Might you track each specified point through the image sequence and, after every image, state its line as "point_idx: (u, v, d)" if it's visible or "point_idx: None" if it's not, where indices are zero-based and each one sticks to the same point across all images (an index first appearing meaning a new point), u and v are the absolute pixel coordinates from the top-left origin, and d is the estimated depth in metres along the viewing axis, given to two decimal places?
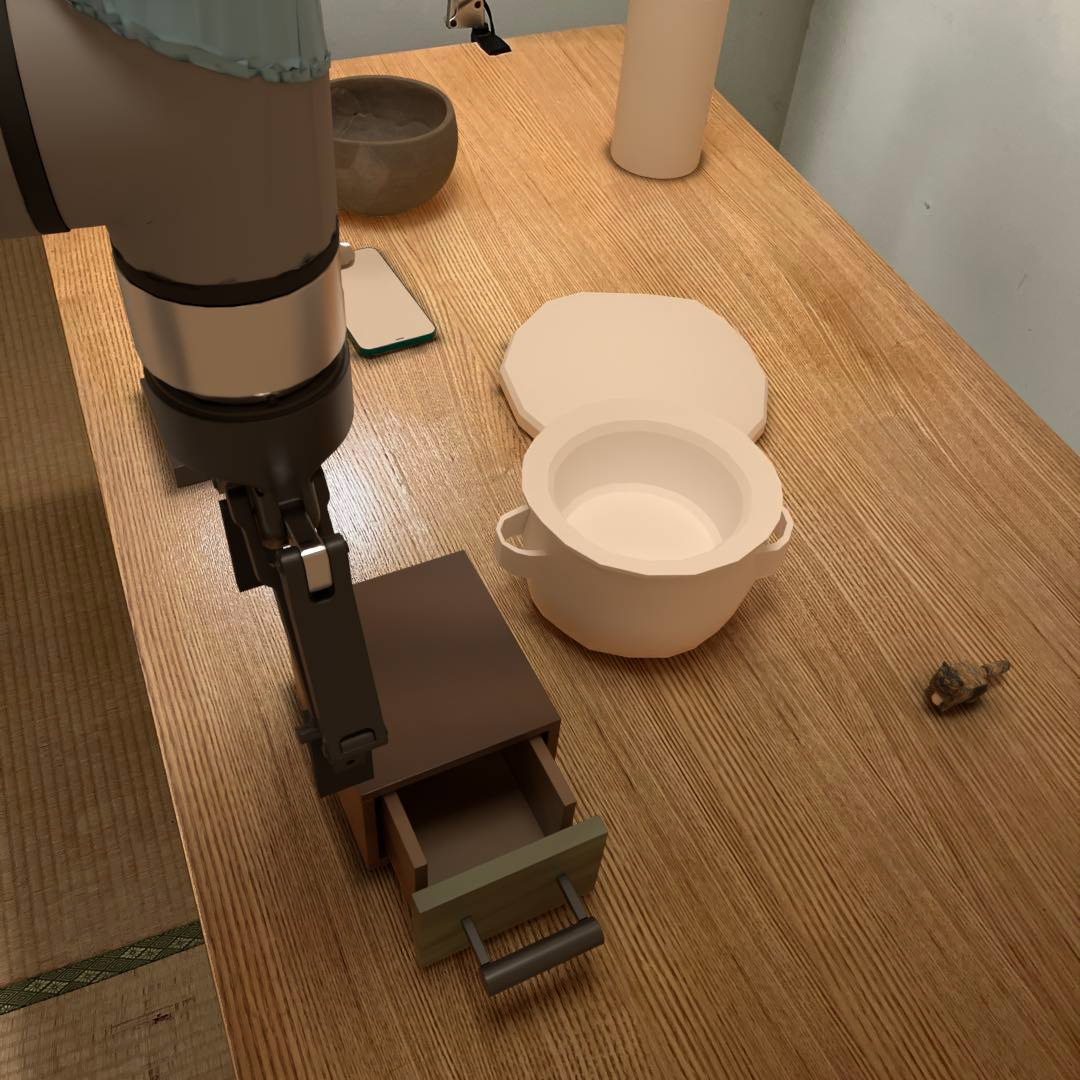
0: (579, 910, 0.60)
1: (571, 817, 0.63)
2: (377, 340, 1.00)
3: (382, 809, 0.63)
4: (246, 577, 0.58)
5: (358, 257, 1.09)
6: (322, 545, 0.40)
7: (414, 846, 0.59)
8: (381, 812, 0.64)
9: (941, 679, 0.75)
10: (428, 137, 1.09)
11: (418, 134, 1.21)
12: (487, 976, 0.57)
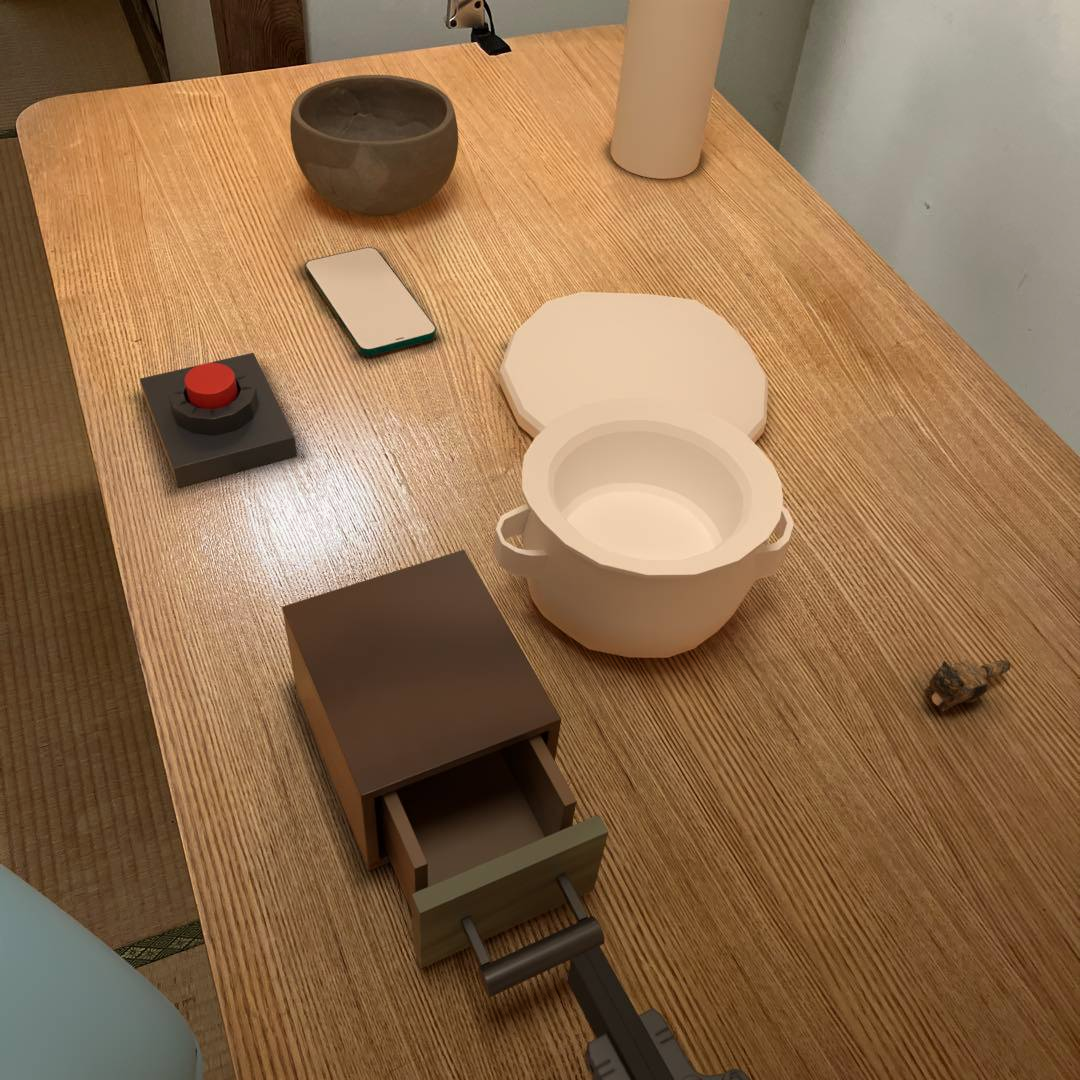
0: (579, 910, 0.60)
1: (571, 817, 0.63)
2: (377, 339, 1.00)
3: (382, 809, 0.63)
4: None
5: (358, 257, 1.09)
6: None
7: (414, 846, 0.59)
8: (381, 812, 0.64)
9: (941, 679, 0.75)
10: (428, 137, 1.09)
11: (418, 134, 1.21)
12: (487, 976, 0.57)
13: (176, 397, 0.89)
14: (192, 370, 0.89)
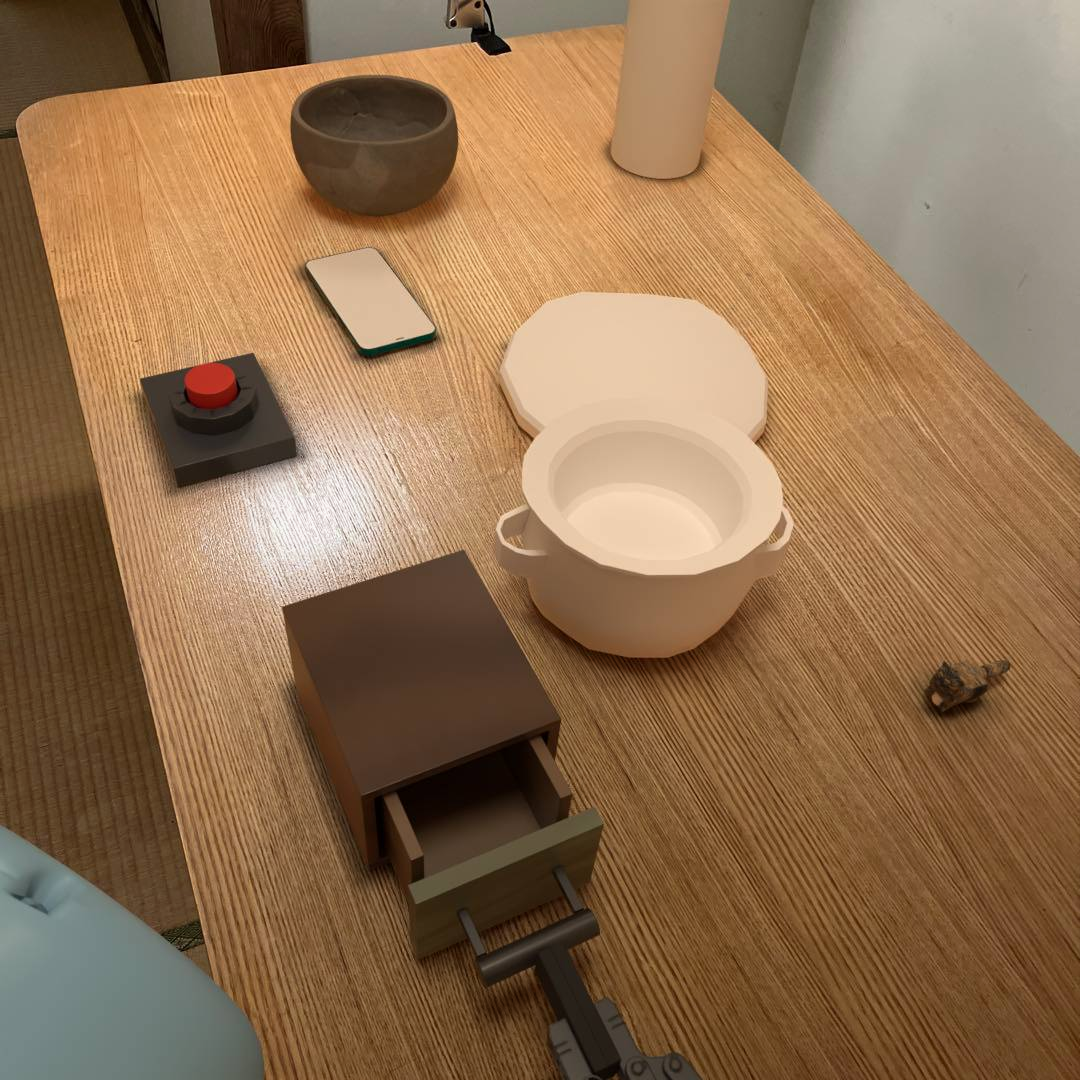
0: (575, 902, 0.61)
1: (567, 809, 0.63)
2: (377, 339, 1.00)
3: (379, 801, 0.63)
4: None
5: (358, 257, 1.09)
6: None
7: (410, 838, 0.59)
8: (378, 805, 0.64)
9: (941, 679, 0.75)
10: (428, 137, 1.09)
11: (418, 134, 1.21)
12: (483, 966, 0.57)
13: (176, 397, 0.89)
14: (192, 370, 0.89)
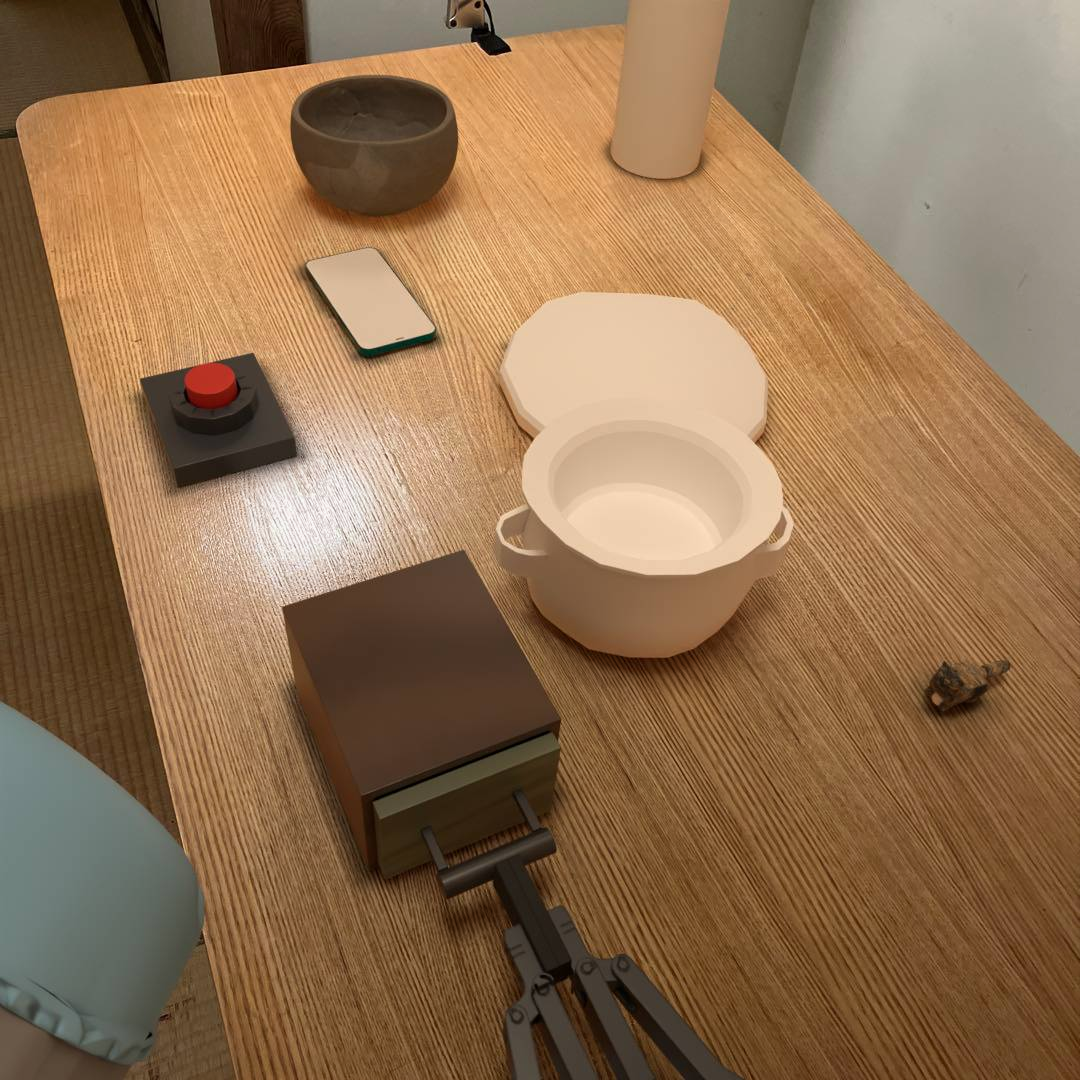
0: (533, 822, 0.64)
1: None
2: (377, 339, 1.00)
3: None
4: None
5: (358, 257, 1.09)
6: None
7: None
8: None
9: (941, 679, 0.75)
10: (428, 137, 1.09)
11: (418, 134, 1.21)
12: (444, 879, 0.61)
13: (176, 397, 0.89)
14: (192, 370, 0.89)
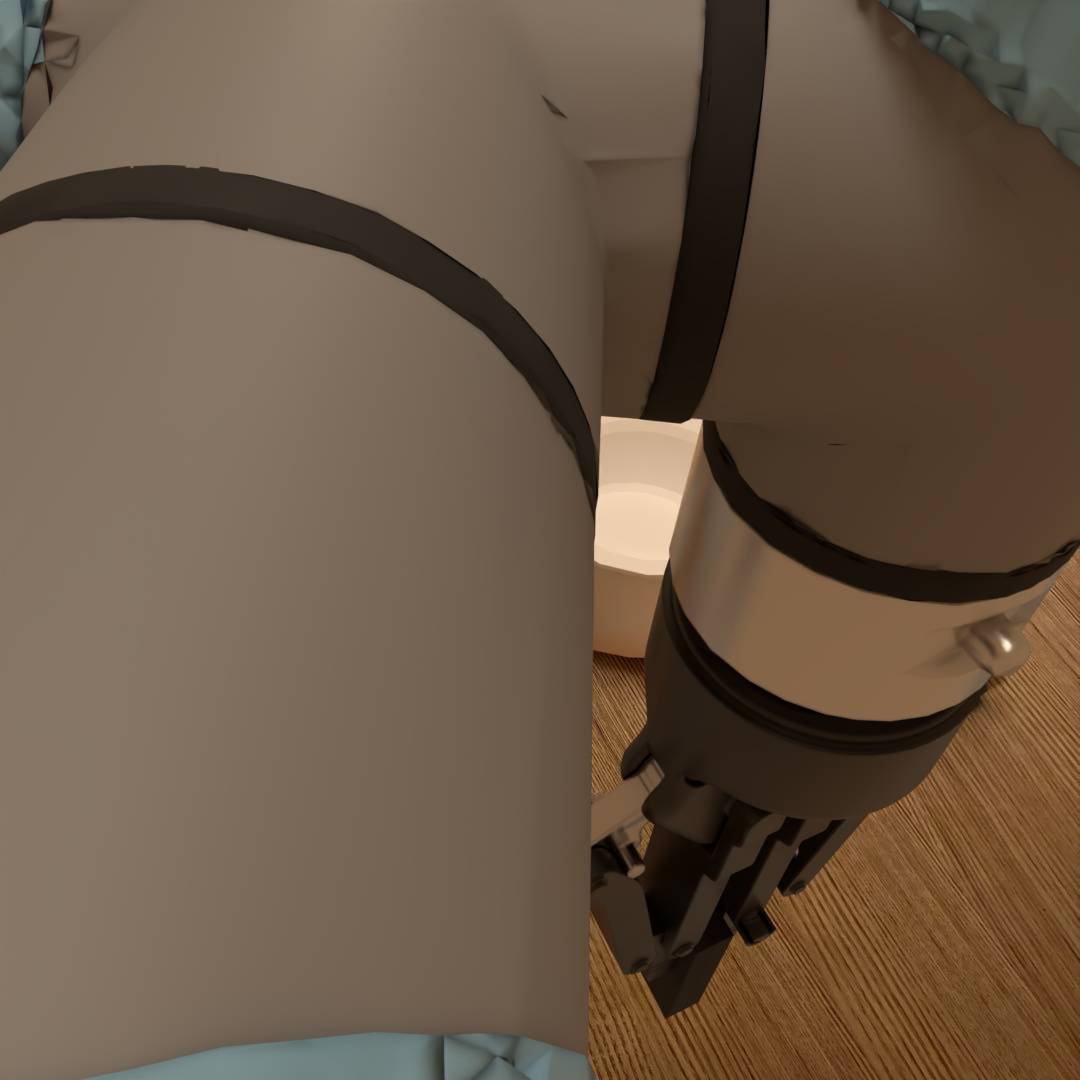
0: None
1: None
2: None
3: None
4: None
5: None
6: None
7: None
8: None
9: None
10: None
11: None
12: None
13: None
14: None
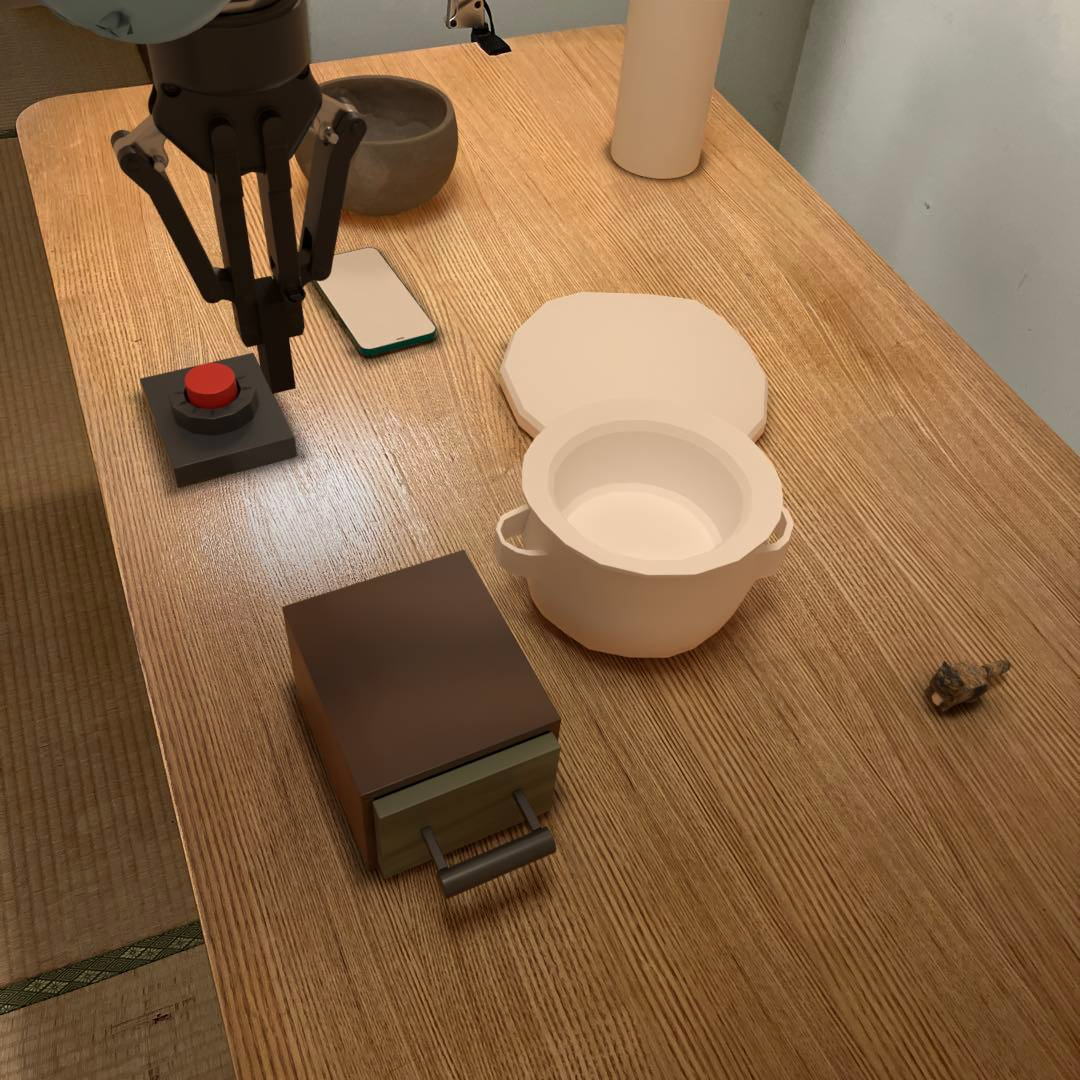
0: (533, 821, 0.64)
1: None
2: (378, 339, 1.00)
3: None
4: None
5: (359, 257, 1.09)
6: (118, 151, 0.53)
7: None
8: None
9: (941, 679, 0.75)
10: (428, 137, 1.09)
11: (418, 134, 1.21)
12: (443, 878, 0.61)
13: (176, 397, 0.89)
14: (192, 370, 0.89)
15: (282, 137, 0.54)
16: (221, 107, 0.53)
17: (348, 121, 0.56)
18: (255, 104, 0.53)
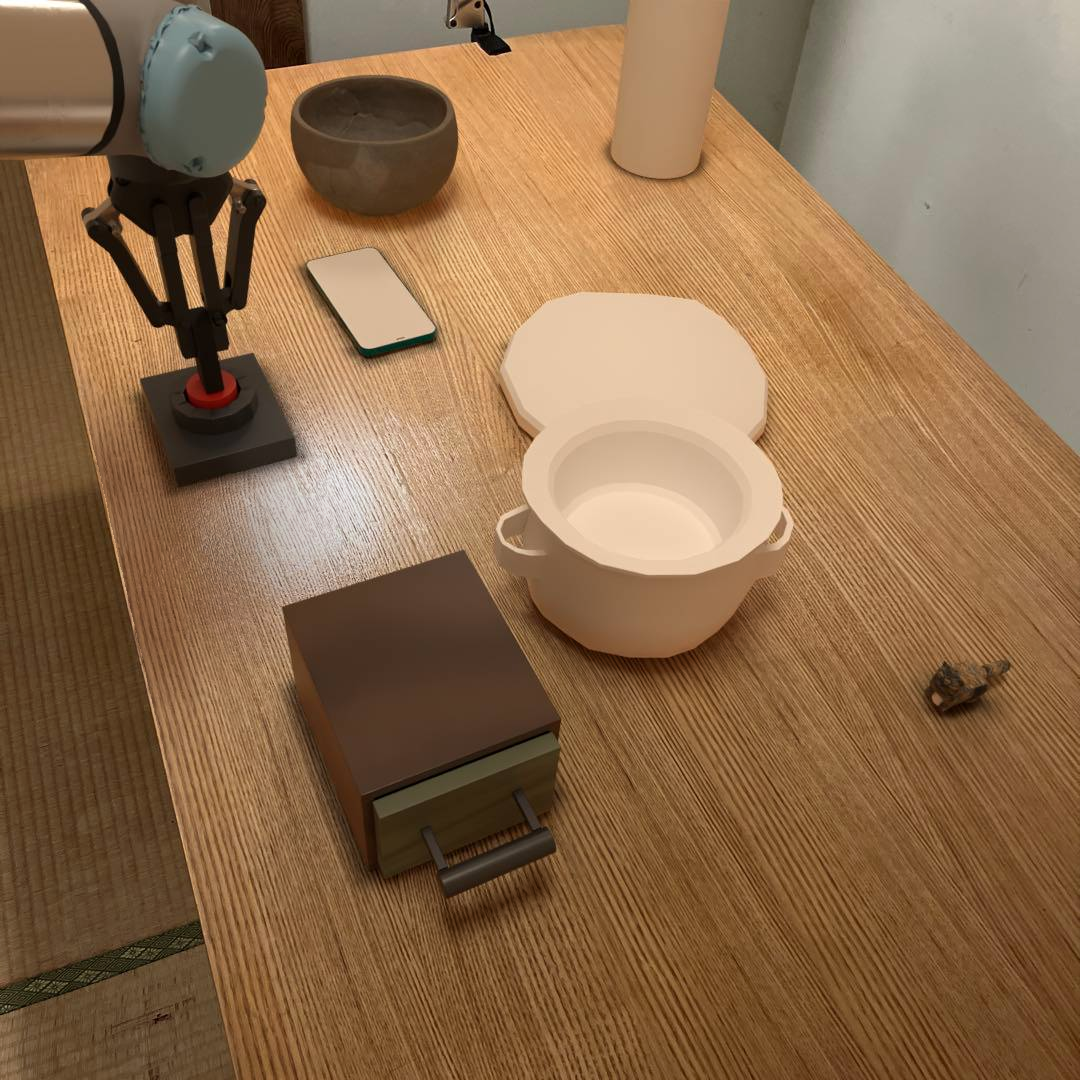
0: (533, 821, 0.64)
1: None
2: (378, 339, 1.00)
3: None
4: None
5: (359, 257, 1.09)
6: (86, 223, 0.75)
7: None
8: None
9: (941, 679, 0.75)
10: (428, 137, 1.09)
11: (418, 134, 1.21)
12: (443, 878, 0.61)
13: (176, 397, 0.89)
14: (193, 377, 0.90)
15: (204, 211, 0.76)
16: (159, 191, 0.75)
17: (252, 197, 0.78)
18: (183, 188, 0.75)
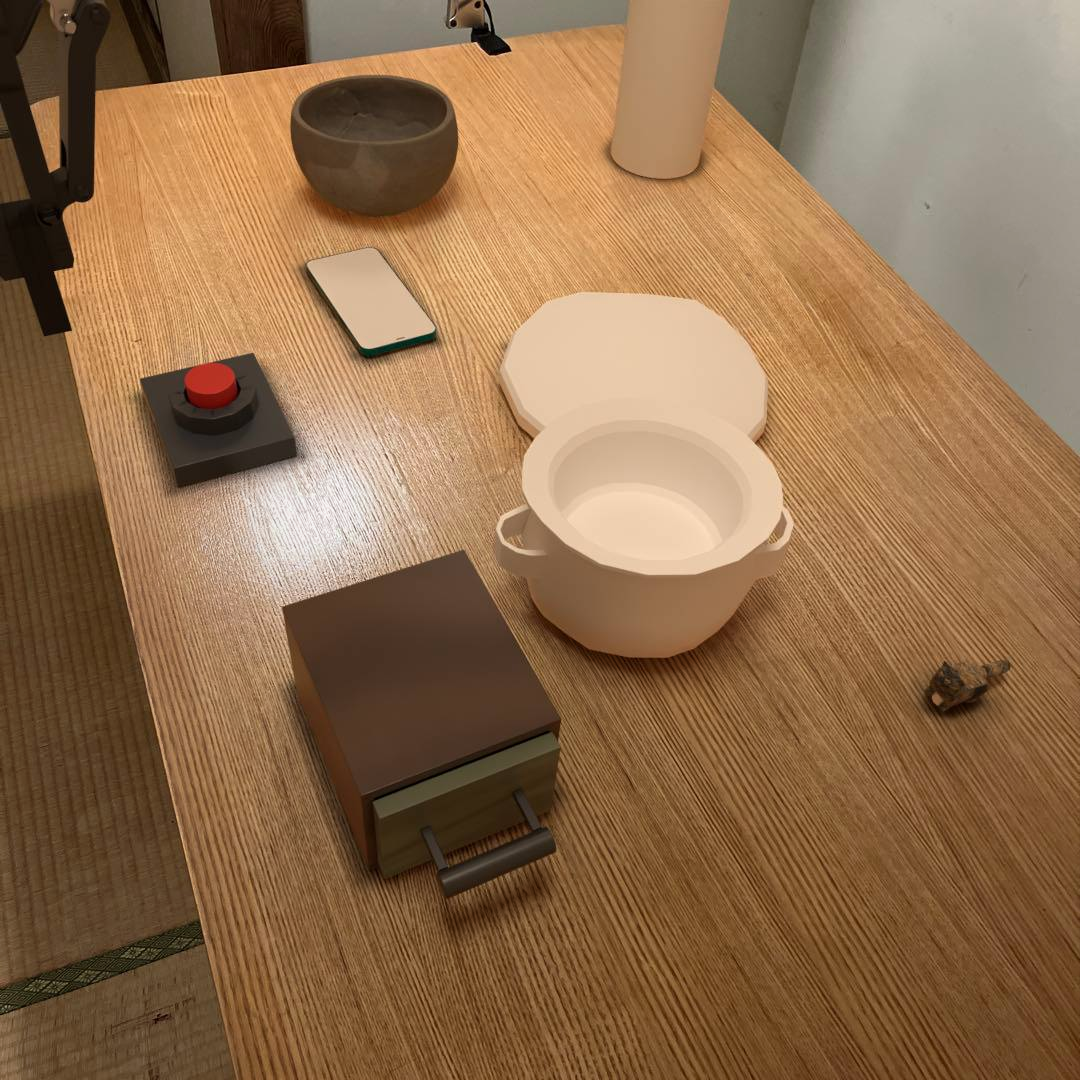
0: (533, 821, 0.64)
1: None
2: (378, 339, 1.00)
3: None
4: None
5: (359, 257, 1.09)
6: None
7: None
8: None
9: (941, 679, 0.75)
10: (428, 137, 1.09)
11: (418, 134, 1.21)
12: (443, 878, 0.61)
13: (176, 397, 0.89)
14: (192, 370, 0.89)
15: None
16: None
17: (86, 6, 0.48)
18: None
